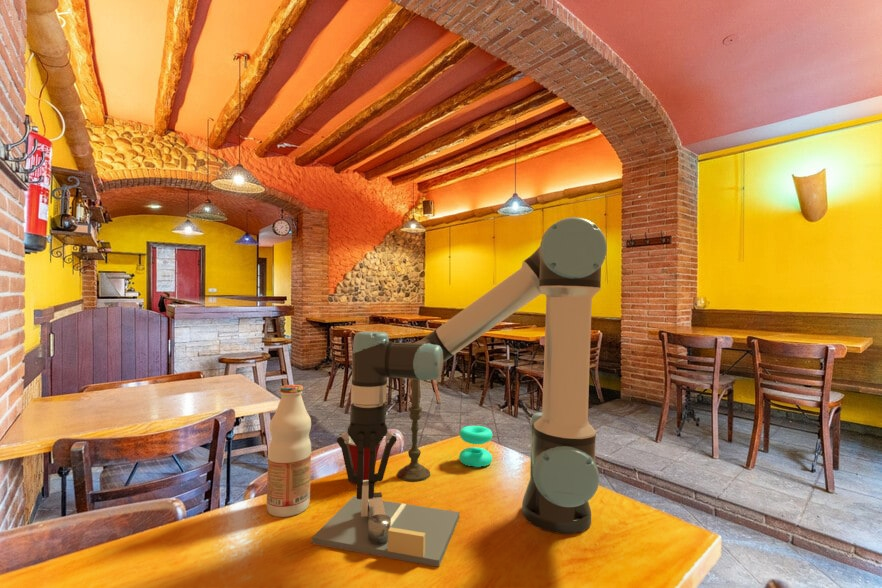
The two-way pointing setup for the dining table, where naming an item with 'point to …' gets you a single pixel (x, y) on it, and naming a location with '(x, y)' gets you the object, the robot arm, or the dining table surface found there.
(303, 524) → the dining table surface
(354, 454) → the plastic cup
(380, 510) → the lock bar
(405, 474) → the candlestick holder
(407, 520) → the plate
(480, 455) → the donuts
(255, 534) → the dining table surface
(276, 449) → the fruit juice
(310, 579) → the dining table surface
